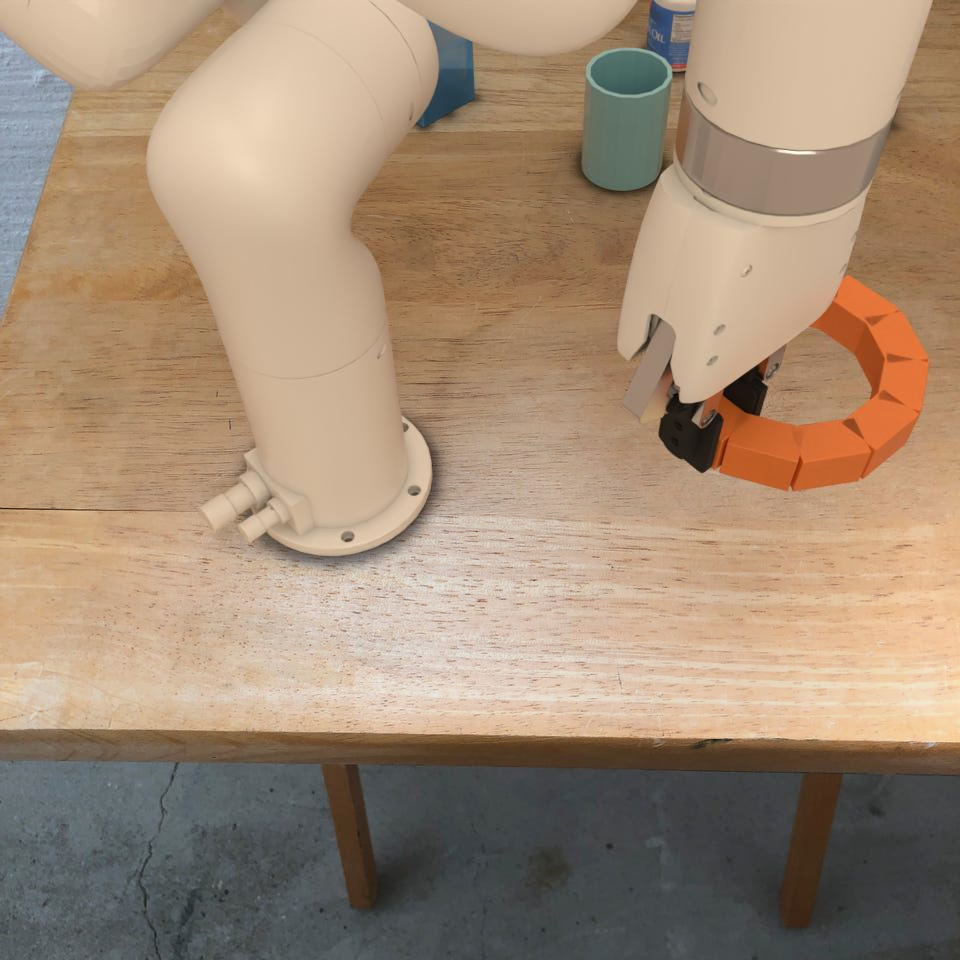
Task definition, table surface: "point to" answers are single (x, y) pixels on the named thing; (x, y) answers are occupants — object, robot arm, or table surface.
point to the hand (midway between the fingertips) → (705, 436)
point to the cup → (625, 118)
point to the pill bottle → (671, 30)
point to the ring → (846, 442)
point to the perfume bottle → (450, 75)
